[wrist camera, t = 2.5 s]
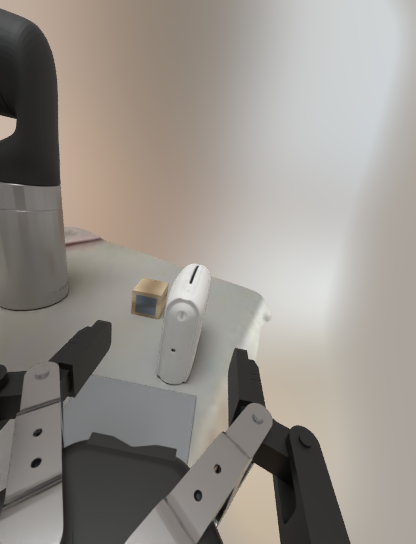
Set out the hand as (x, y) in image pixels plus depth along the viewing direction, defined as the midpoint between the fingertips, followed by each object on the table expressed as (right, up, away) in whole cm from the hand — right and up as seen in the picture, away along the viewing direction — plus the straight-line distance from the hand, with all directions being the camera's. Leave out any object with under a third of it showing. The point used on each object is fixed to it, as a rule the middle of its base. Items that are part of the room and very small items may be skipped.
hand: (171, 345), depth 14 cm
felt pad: (-5, -10, +5) cm, 12 cm away
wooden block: (-8, -2, +23) cm, 25 cm away
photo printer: (-2, -7, +16) cm, 17 cm away
